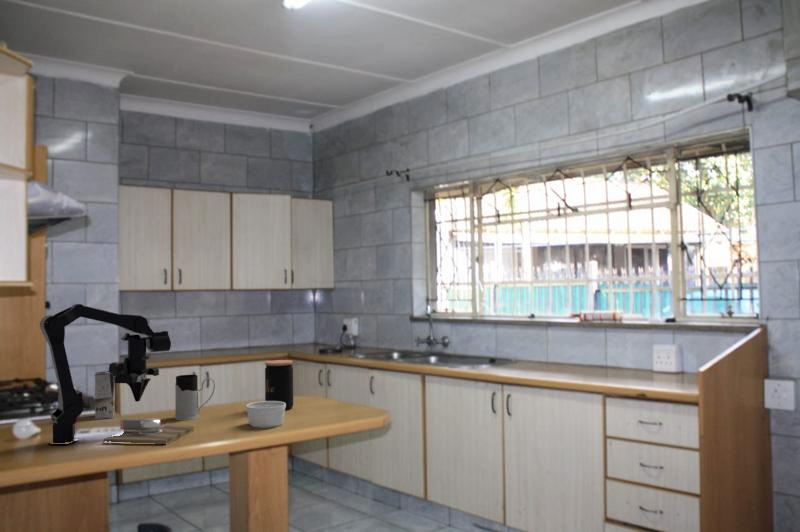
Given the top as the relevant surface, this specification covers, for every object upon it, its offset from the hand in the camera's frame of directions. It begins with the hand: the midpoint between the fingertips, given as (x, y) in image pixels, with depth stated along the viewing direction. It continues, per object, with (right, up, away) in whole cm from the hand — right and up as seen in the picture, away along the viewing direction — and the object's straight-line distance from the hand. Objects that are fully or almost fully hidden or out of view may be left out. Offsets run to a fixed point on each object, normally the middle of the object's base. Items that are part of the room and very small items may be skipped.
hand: (137, 401), depth 224 cm
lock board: (+7, -10, -7) cm, 14 cm away
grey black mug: (+12, -11, +24) cm, 29 cm away
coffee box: (-22, -11, +27) cm, 37 cm away
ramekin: (+40, -10, +10) cm, 43 cm away
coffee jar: (+40, -11, +39) cm, 56 cm away
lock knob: (+4, -8, -6) cm, 11 cm away
